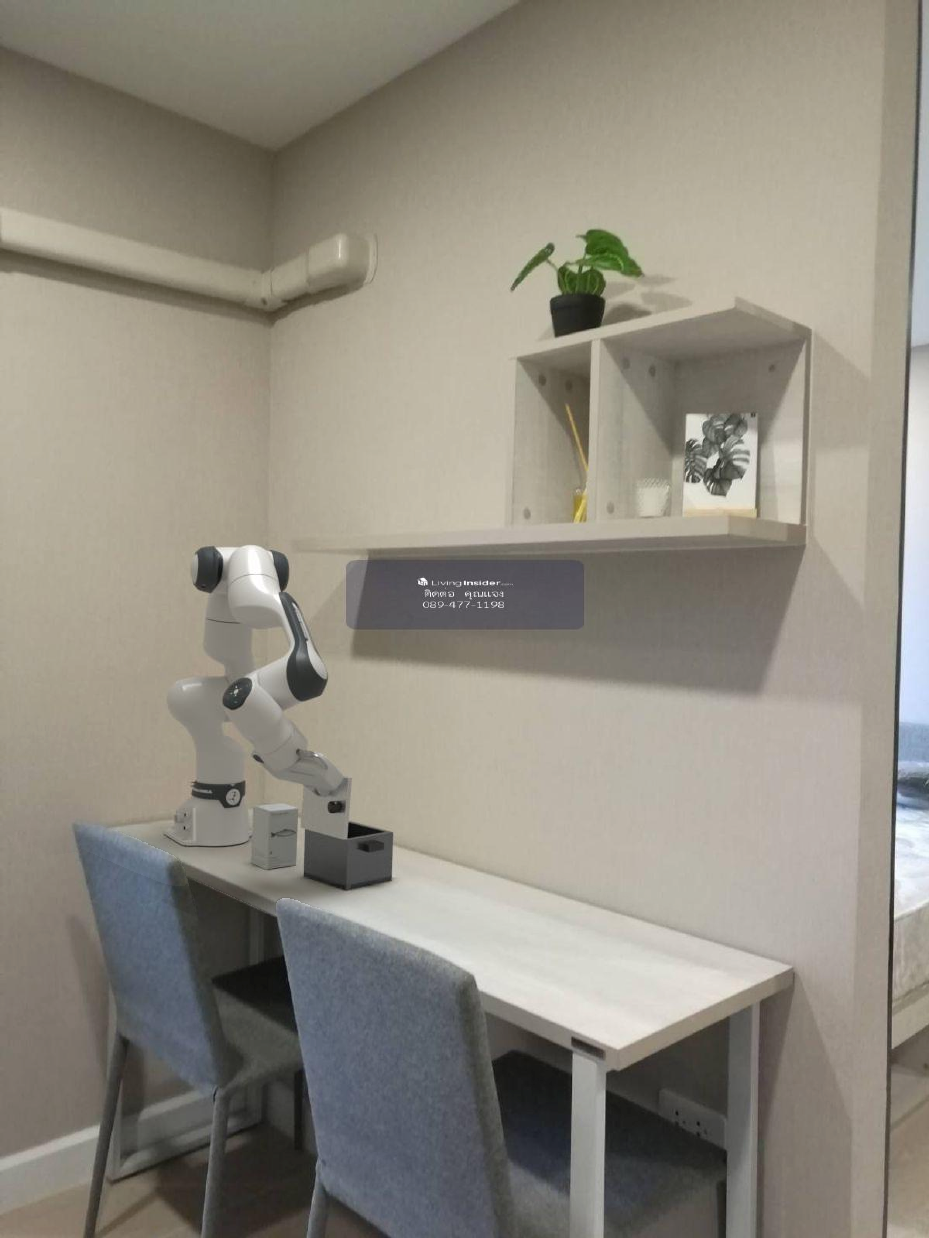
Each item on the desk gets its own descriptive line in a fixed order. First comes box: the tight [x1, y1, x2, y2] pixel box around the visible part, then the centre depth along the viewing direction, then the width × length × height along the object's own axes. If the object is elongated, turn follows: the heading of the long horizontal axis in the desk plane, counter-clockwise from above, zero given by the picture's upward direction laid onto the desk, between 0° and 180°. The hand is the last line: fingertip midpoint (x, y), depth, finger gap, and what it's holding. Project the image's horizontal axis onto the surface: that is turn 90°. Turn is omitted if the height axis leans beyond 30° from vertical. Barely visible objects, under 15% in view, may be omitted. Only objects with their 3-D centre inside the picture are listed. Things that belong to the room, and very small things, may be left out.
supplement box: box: [250, 802, 299, 871], centre depth 214 cm, size 7×7×13 cm
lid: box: [299, 775, 353, 840], centre depth 199 cm, size 14×12×3 cm
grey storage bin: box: [303, 820, 394, 892], centre depth 204 cm, size 18×12×10 cm
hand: (323, 793), depth 199 cm, fingers closed, pressing on lid
